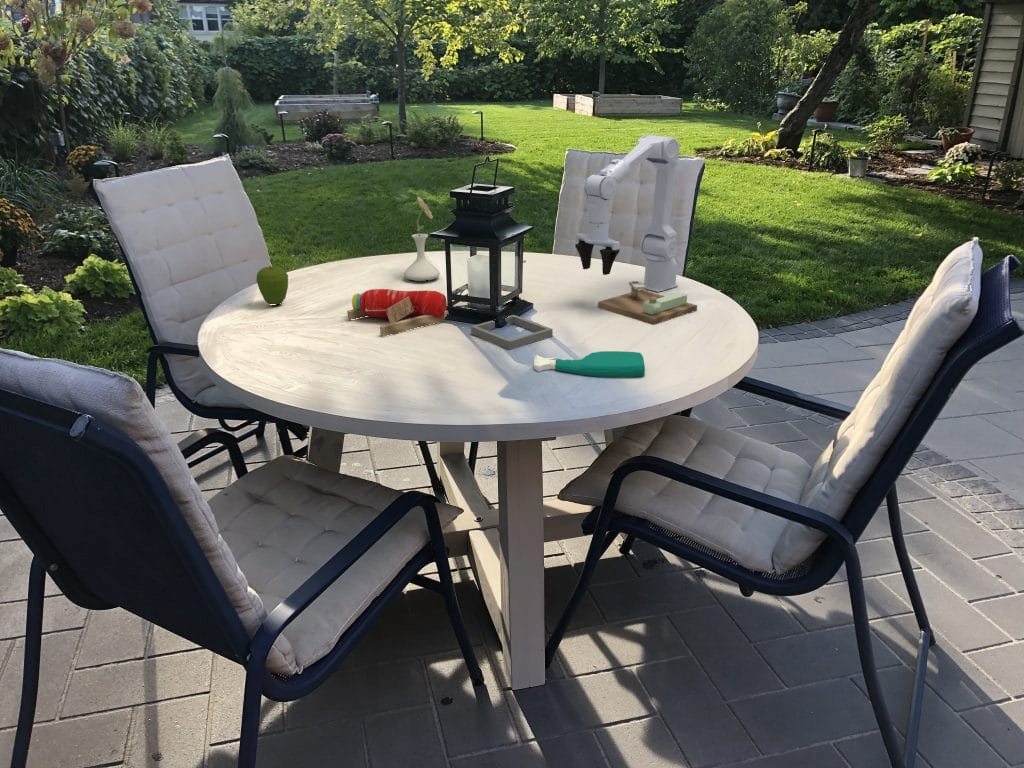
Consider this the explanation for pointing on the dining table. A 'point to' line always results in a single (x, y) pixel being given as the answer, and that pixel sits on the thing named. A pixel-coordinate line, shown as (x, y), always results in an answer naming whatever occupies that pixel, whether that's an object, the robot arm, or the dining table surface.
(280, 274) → the apple
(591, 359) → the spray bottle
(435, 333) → the dining table surface
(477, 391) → the dining table surface
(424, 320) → the bottle cradle
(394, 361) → the dining table surface
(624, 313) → the board
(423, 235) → the flower in vase
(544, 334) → the mousse rim
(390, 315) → the water bottle
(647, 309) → the link
